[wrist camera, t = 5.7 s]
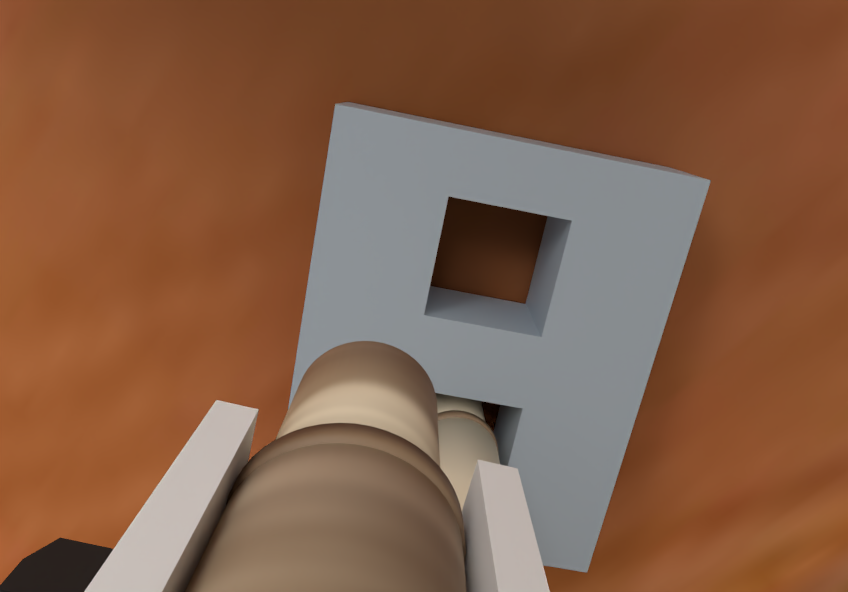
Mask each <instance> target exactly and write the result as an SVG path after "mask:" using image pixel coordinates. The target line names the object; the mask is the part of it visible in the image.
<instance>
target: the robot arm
mask: <svg viewBox="0 0 848 592" xmlns="http://www.w3.org/2000/svg"><path fill="white" fill-rule="evenodd" d="M258 410H259V409H254V408H250V407H246V406H241V405H237V404H232V403H228V402H224V401H219V400H216V401H215V403H214V404H213V406H212V407H211V409H210V410H209V412H208V413H207V414H206V416H205V417H204V419H203V420H202V422H201V423H200V425H199V426H198V427H197V429H196V430H195V432H194V433H193V435H192V436H191V438H190V439H189V441H188V442H187V443H186V445H185V446H184V448H183V449H182V451H181V452H180V454H179V455H178V456H177V458H176V459H175V461H174V462H173V464H172V465H171V467H170V468H169V469H168V471H167V472H166V474H165V475H164V477H163V478H162V480H161V481H160V483H159V484H158V485H157V487H156V488H155V490H154V491H153V493H152V494H151V496H150V497H149V498H148V500H147V501H146V503H145V504H144V506H143V507H142V509H141V510H140V512H139V513H138V514H137V516H136V517H135V519H134V520H133V522H132V523H131V525H130V526H129V527H128V529H127V530H126V532H125V533H124V535H123V536H122V538H121V539H120V541H119V542H118V543H117V545H116V546H115V548H114V549H111V548H107V547H102V546H97V545H92V544H88V543H83V542H78V541H73V540H69V539H64V538H59V539H57V540H55V541H54V542H52V543H50V544H48V545H47V546H45V547H43V548H41V549H40V550H38V551H36V552H35V553H33V554H31V555H29V556H28V557H26V558H24V559H23V560H22V561H21V562H20V563H19V564H18V565H17V567H16V568H15V569H14V570H13V571H12V572H11V573H10V575H9V576H8V577H7V578H6V579H5V580H4V581H3V583H2V584H1V585H0V592H184V591H185V589H186V587H187V585H188V583H189V581H190V579H191V577H192V575H193V573H194V571H195V569H196V567H197V565H198V563H199V560H200V558H201V556H202V554H203V552H204V550H205V548H206V546H207V544H208V542H209V540H210V538H211V536H212V534H213V532H214V530H215V528H216V525H217V523H218V521H219V519H220V517H221V515H222V513H223V511H224V509H225V507H226V503H227V498H228V495H229V493H230V491H231V489H232V487H233V485H234V483H235V481H236V479H237V477H238V475H239V473H240V472H241V470H242V469H243V467H244V466H245V465H246V464H247V463H248V459H249V454H250V449H251V444H252V439H253V435H254V430H255V425H256V420H257V415H258ZM462 515H463V524H464V534H465V546H466V558H465V578H466V589H467V592H550V590H549V586H548V583H547V579H546V575H545V571H544V567H543V563H542V560H541V556H540V552H539V548H538V544H537V541H536V537H535V533H534V529H533V525H532V521H531V518H530V514H529V510H528V506H527V502H526V498H525V495H524V491H523V487H522V483H521V479H520V475H519V472H518V468H513V467H509V466H504V465H500V464H496V463H491V462H487V461H483V460H477V464H476V467H475V470H474V473H473V477H472V480H471V483H470V486H469V490H468V493H467V496H466V500H465V503H464V506H463V509H462Z"/></svg>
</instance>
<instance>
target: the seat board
mask: <svg viewBox="0 0 848 592" xmlns="http://www.w3.org/2000/svg"><path fill="white" fill-rule="evenodd" d="M710 182H711V180H708V179H705V178H702V177H698V176H695V175H692V174H689V173H686V172H683V171H679V170H676V169H673V168H670V167H665V166H660V165H655V164H650V163H645V162H641V161H636V160H631V159H626V158H621V157H616V156H611V155H606V154H601V153H596V152H592V151H587V150H582V149H577V148H572V147H567V146H562V145H557V144H552V143H547V142H543V141H538V140H533V139H528V138H523V137H518V136H513V135H508V134H503V133H498V132H493V131H489V130H484V129H479V128H474V127H469V126H464V125H459V124H454V123H449V122H444V121H440V120H435V119H430V118H425V117H420V116H415V115H410V114H405V113H400V112H395V111H391V110H386V109H381V108H376V107H371V106H366V105H361V104H356V103H351V102H344V103H338V104H335V109H334V116H333V122H332V129H331V135H330V142H329V148H328V155H327V161H326V168H325V174H324V181H323V187H322V193H321V200H320V206H319V213H318V219H317V226H316V232H315V239H314V245H313V252H312V258H311V265H310V271H309V278H308V284H307V290H306V297H305V303H304V310H303V316H302V323H301V329H300V336H299V342H298V349H297V355H296V362H295V368H294V375H293V381H292V387H291V394H290V400H289V407H290V405H291V403H292V400H293V398H294V396H295V393H296V391H297V389H298V386H299V384H300V382H301V380H302V378H303V375H304V374H305V372H306V371H307V369H308V368H309V367H310V365H311V364H312V363H313V362H314V361H315V360H316V359H317V358H318V357H320V356H321V355H322V354H324V353H325V352H327V351H328V350H330V349H332V348H334V347H336V346H339V345H342V344H345V343H350V342H355V341H375V342H381V343H385V344H388V345H391V346H394V347H396V348H398V349H401V350H402V351H404V352H406V353H407V354H409V355H410V356H411V357H412V358H414V359H415V360H416V361H417V362H418V363H419V364H420V365H421V366H422V367H423V369H424V370H425V371H426V373H427V374H428V376H429V378H430V380H431V382H432V384H433V387H434V390H435V394H436V399H437V415H438V434H439V454H440V468H441V469H442V471H443V472H444V473H445V475H446V476H447V477H448V479H449V481H450V483H451V484H452V486H453V488H454V490H455V492H456V495H457V497H458V500H459V503H460V506H461V511H462V509H463V506H464V503H465V500H466V496H467V493H468V490H469V486H470V483H471V480H472V477H473V473H474V470H475V467H476V464H477V460H483V461H487V462H491V463H496V464H500V465H504V466H509V467H513V468H518V472H519V475H520V479H521V483H522V487H523V491H524V495H525V498H526V502H527V506H528V510H529V514H530V518H531V521H532V525H533V529H534V533H535V537H536V541H537V544H538V548H539V552H540V556H541V560H542V563H543V565H544V566H550V567H556V568H562V569H568V570H574V571H580V572H586V573H587V571H588V568H589V565H590V562H591V558H592V555H593V552H594V549H595V546H596V543H597V539H598V536H599V533H600V530H601V527H602V524H603V520H604V517H605V514H606V511H607V508H608V505H609V501H610V498H611V495H612V492H613V489H614V486H615V482H616V479H617V476H618V473H619V470H620V467H621V463H622V460H623V457H624V454H625V451H626V448H627V444H628V441H629V438H630V435H631V432H632V429H633V425H634V422H635V419H636V416H637V413H638V410H639V406H640V403H641V400H642V397H643V394H644V391H645V387H646V384H647V381H648V378H649V375H650V372H651V368H652V365H653V362H654V359H655V356H656V353H657V349H658V346H659V343H660V340H661V337H662V334H663V330H664V327H665V324H666V321H667V318H668V315H669V311H670V308H671V305H672V302H673V299H674V296H675V292H676V289H677V286H678V283H679V280H680V277H681V273H682V270H683V267H684V264H685V261H686V258H687V254H688V251H689V248H690V245H691V242H692V239H693V235H694V232H695V229H696V226H697V223H698V220H699V216H700V213H701V210H702V207H703V204H704V201H705V197H706V194H707V191H708V188H709V185H710ZM448 197H454V198H459V199H464V200H469V201H474V202H479V203H484V204H489V205H494V206H499V207H505V208H510V209H515V210H520V211H525V212H530V213H535V214H540V215H545V216H548V217H547V221H546V225H545V228H544V232H543V236H542V240H541V244H540V248H539V252H538V256H537V260H536V264H535V268H534V272H533V276H532V280H531V284H530V288H529V292H528V296H527V300H526V304H523V303H518V302H512V301H507V300H502V299H497V298H491V297H486V296H481V295H475V294H470V293H465V292H460V291H454V290H449V289H444V288H438V287H433V286H430V284H431V279H432V274H433V269H434V264H435V260H436V255H437V250H438V245H439V240H440V235H441V231H442V226H443V221H444V216H445V211H446V207H447V202H448ZM481 401H483V402H489V403H494V404H500V407H499V411H498V415H497V419H496V423H495V427H494V431H492V429H491V428H490V426H489V425H488V424H487V423H486V422H485V418H484V412H483V407H482V402H481ZM289 407H288V409H289Z"/></svg>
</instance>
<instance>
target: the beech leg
mask: <svg viewBox="0 0 848 592" xmlns="http://www.w3.org/2000/svg"><path fill="white" fill-rule="evenodd" d="M465 558H466V546H465V534H464V524H463V515H462V511H461V506H460V503H459V500H458V497H457V495H456V492H455V490H454V488H453V486H452V484H451V483H450V481H449V479H448V477H447V476H446V475H445V473H444V472H443V471H442V469H441V468H440V454H439V434H438V415H437V399H436V394H435V390H434V387H433V384H432V382H431V380H430V378H429V376H428V374H427V373H426V371H425V370H424V369H423V367H422V366H421V365H420V364H419V363H418V362H417V361H416V360H415V359H414V358H412V357H411V356H410V355H409V354H407V353H406V352H404V351H402V350H401V349H398V348H396V347H394V346H391V345H388V344H385V343H381V342H375V341H355V342H350V343H345V344H342V345H339V346H336V347H334V348H332V349H330V350H328V351H327V352H325V353H324V354H322V355H321V356H320V357H318V358H317V359H316V360H315V361H314V362H313V363H312V364H311V365H310V367H309V368H308V369H307V371H306V372H305V374H304V375H303V378H302V380H301V382H300V384H299V386H298V389H297V391H296V393H295V396H294V398H293V400H292V403H291V405H290V407H289V409H288V412H287V414H286V416H285V419H284V421H283V423H282V426H281V428H280V430H279V432H278V435H277V437H276V439H275V440H274V441H273V442H271V443H270V444H268V445H267V446H265V447H264V448H262V449H261V450H260V451H259V452H258V453H257V454H255V455H254V456H253V457H252V458H251V459H250V461H249V462H248V463H247V464H246V465H245V466H244V467H243V469H242V470H241V472H240V473H239V475H238V477H237V479H236V481H235V483H234V485H233V487H232V489H231V491H230V493H229V495H228V498H227V503H226V507H225V509H224V511H223V513H222V515H221V517H220V519H219V521H218V523H217V525H216V528H215V530H214V532H213V534H212V536H211V538H210V540H209V542H208V544H207V546H206V548H205V550H204V552H203V554H202V556H201V558H200V560H199V563H198V565H197V567H196V569H195V571H194V573H193V575H192V577H191V579H190V581H189V583H188V585H187V587H186V589H185V591H184V592H467V589H466V578H465Z"/></svg>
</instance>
